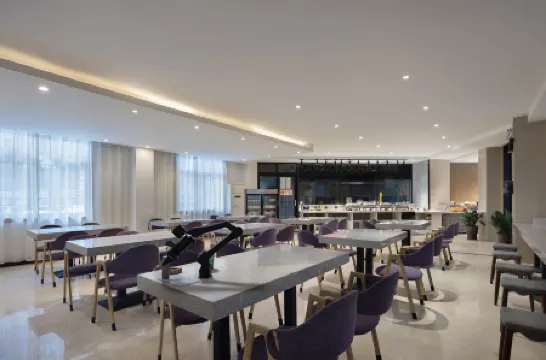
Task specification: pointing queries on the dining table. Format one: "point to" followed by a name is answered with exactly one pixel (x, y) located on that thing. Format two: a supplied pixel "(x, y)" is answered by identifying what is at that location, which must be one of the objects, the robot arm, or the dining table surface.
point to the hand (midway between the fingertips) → (163, 263)
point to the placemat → (179, 280)
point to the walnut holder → (175, 270)
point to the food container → (212, 261)
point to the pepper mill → (165, 269)
